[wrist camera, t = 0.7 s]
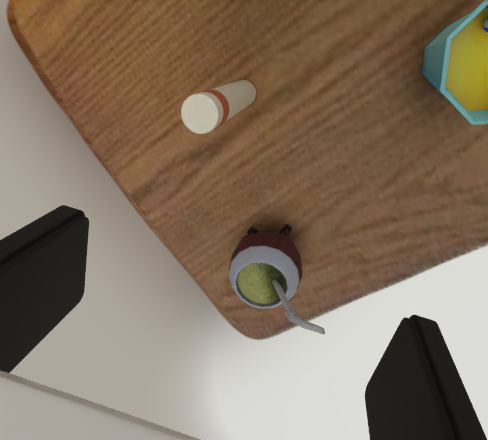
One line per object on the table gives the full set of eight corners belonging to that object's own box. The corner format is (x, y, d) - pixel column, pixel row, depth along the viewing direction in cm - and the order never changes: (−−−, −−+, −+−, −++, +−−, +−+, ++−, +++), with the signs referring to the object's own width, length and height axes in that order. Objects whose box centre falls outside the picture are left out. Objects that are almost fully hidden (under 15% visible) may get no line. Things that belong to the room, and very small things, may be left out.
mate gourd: (229, 248, 43) (184, 337, 29) (270, 197, 40) (241, 271, 26) (281, 286, 44) (261, 390, 30) (326, 239, 40) (327, 333, 27)
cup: (376, -14, 31) (416, -67, 17) (481, -71, 28) (625, -185, 15) (428, 144, 35) (493, 202, 21) (524, 107, 32) (668, 146, 19)
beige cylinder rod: (254, 77, 35) (214, 90, 23) (258, 105, 36) (222, 131, 24) (228, 81, 36) (176, 96, 23) (233, 108, 37) (185, 137, 24)
